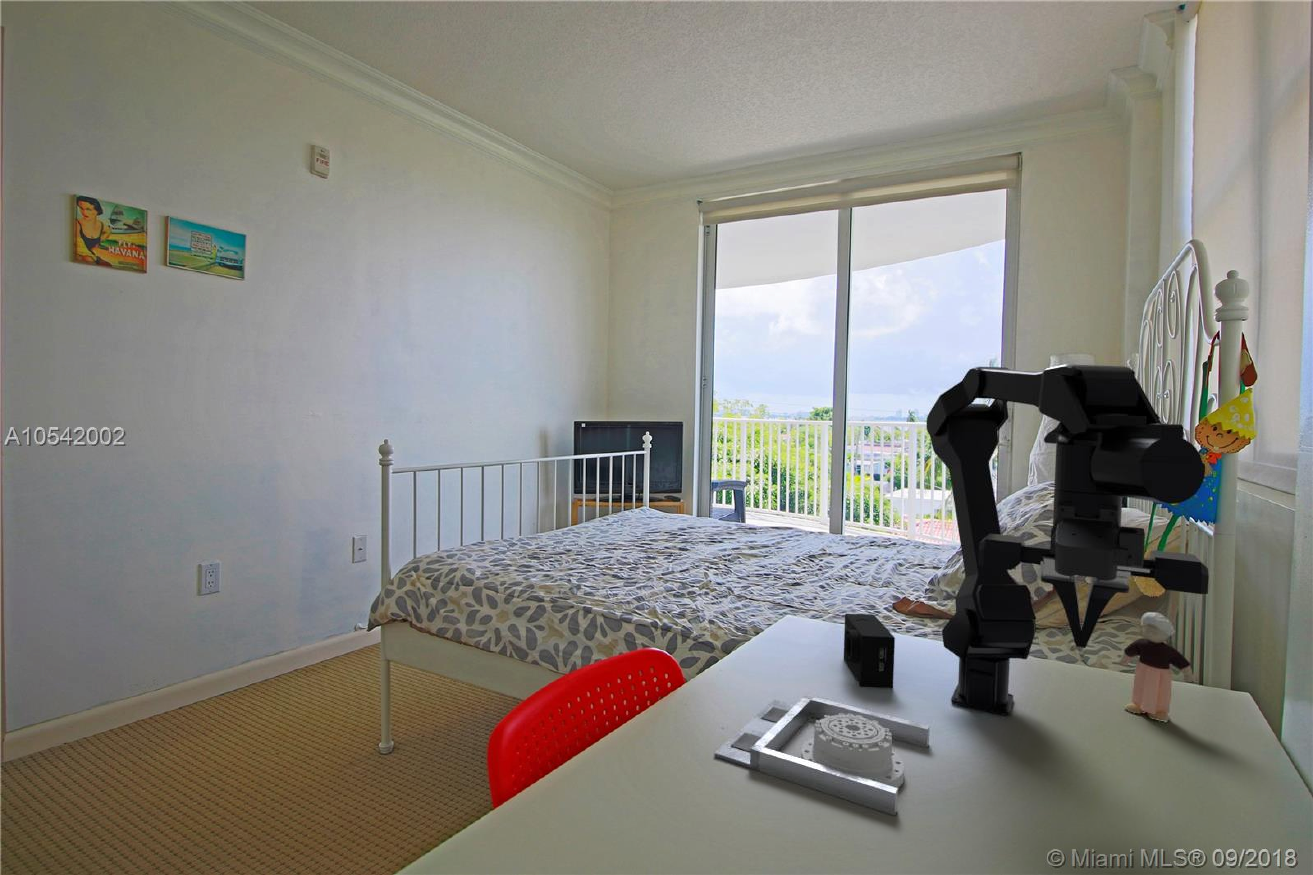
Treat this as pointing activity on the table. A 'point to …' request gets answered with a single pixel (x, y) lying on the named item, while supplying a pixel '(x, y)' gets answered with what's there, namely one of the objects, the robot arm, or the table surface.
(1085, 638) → the robot arm
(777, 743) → the u-shaped metal bracket
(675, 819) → the table surface
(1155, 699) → the grandmother figurine
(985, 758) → the table surface
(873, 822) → the table surface
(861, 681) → the digital camera
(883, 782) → the mechanical component
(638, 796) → the table surface
